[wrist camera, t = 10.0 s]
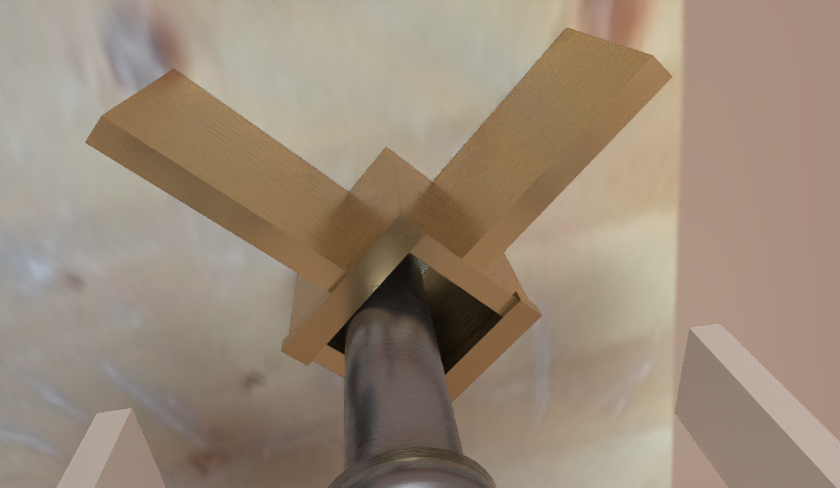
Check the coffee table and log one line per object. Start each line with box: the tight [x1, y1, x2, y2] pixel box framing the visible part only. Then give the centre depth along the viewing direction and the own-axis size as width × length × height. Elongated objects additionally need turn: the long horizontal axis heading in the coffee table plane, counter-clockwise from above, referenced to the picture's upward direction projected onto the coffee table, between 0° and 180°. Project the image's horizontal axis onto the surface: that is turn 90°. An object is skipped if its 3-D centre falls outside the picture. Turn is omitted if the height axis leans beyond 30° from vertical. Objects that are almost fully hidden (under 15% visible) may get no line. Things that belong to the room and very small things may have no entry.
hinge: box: [85, 28, 672, 403], centre depth 17 cm, size 12×12×6 cm
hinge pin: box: [328, 252, 496, 488], centre depth 16 cm, size 4×4×13 cm
